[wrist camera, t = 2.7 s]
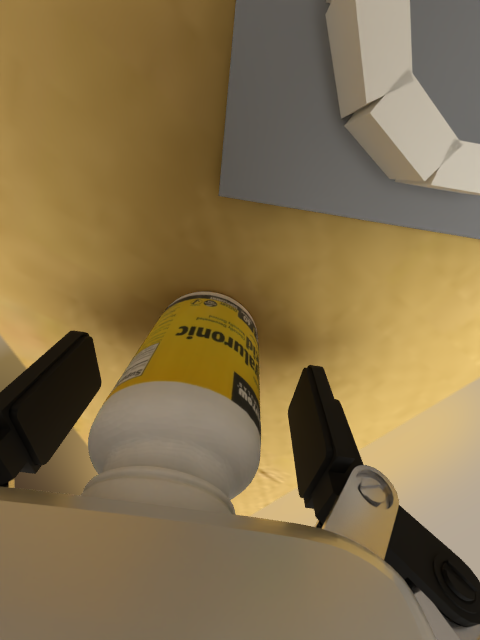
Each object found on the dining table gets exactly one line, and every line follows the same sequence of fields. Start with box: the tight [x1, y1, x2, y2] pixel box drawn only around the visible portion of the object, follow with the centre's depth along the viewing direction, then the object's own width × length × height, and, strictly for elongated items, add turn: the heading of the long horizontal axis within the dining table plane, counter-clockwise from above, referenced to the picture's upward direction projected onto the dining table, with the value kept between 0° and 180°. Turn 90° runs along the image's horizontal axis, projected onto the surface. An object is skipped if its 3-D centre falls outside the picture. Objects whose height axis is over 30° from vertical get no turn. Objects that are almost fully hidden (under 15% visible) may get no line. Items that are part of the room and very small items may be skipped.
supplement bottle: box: [80, 292, 261, 515], centre depth 10 cm, size 5×5×10 cm
